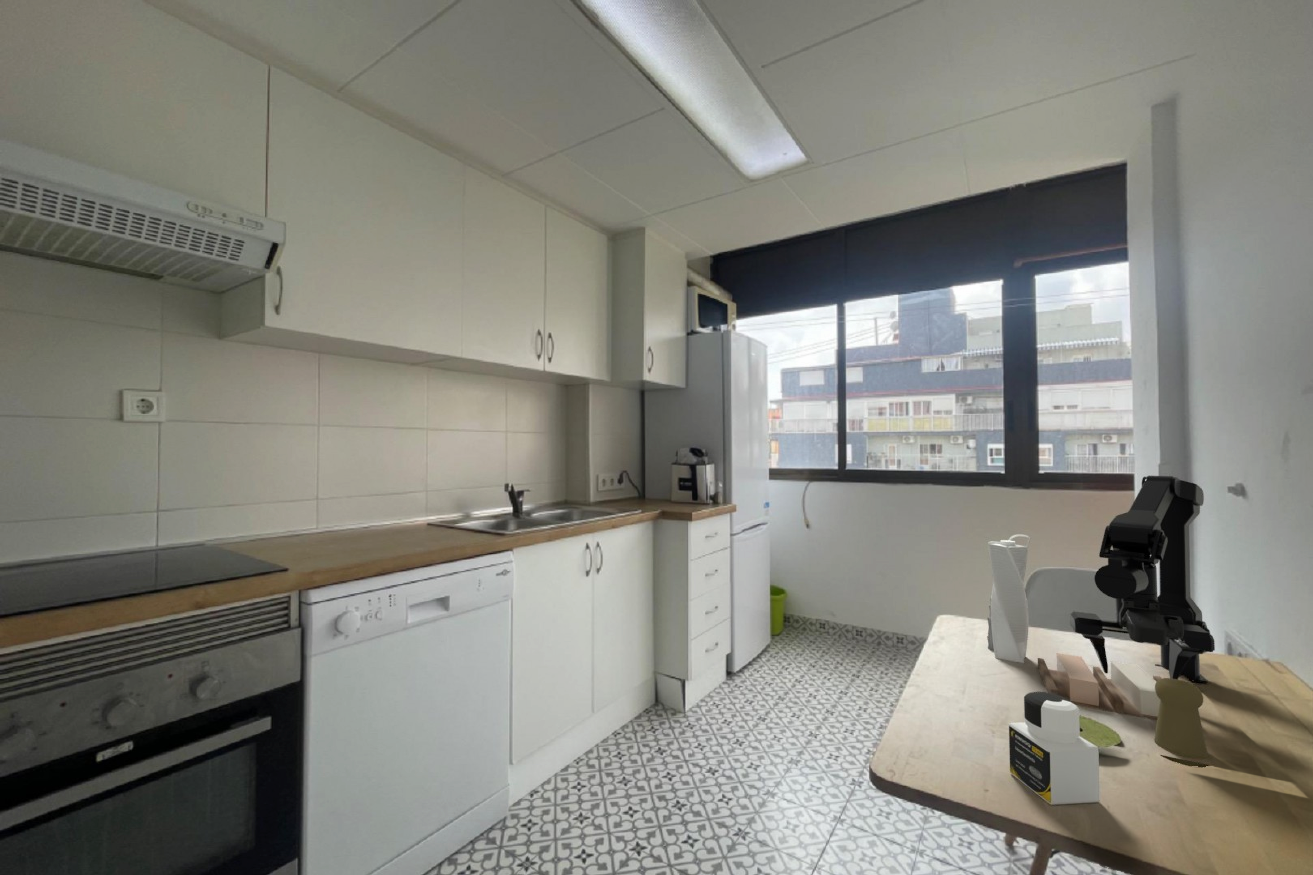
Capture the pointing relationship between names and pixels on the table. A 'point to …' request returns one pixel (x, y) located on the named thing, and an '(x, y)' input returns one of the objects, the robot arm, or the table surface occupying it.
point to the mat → (1097, 733)
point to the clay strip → (1136, 687)
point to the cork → (1180, 721)
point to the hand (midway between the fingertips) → (1138, 677)
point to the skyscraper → (1008, 600)
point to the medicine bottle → (1054, 751)
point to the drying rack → (1108, 692)
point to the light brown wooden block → (1077, 679)
